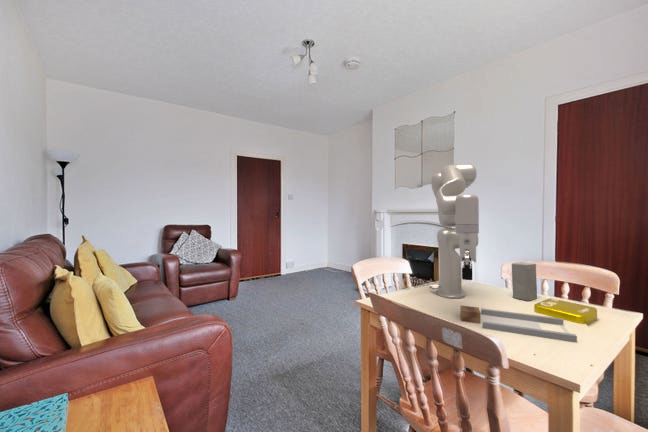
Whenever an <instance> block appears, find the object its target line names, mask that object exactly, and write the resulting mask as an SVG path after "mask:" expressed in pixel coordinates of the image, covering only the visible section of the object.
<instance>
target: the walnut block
mask: <svg viewBox="0 0 648 432" xmlns="http://www.w3.org/2000/svg"><path fill="white" fill-rule="evenodd" d="M459 307H460V309H459V311H460V312H459V314H460V320H461V322H465V323H466V322H467V323H474V324H480V325H481V324H482V317H481V309H480V308H479V306H469V305H460V306H459Z"/></svg>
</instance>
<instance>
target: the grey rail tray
mask: <svg viewBox="0 0 648 432" xmlns="http://www.w3.org/2000/svg"><path fill="white" fill-rule="evenodd" d="M480 314H481V324H482V329H484V330H485V329H486V330H491V331H499V332H504V333H512V334H519V335H525V336H532V337H538V338H545V339H550V340H557V341H563V342H570V343H571V342H572V343H578V336H577V335H576V333H575V334H574V333H570V332H569V331H568V330H567V329H568V328H566V327H565V325H564V320H563V319H562V318H555V317H551V316H547V315H537V314H531V313H530V314H528V313H523V312H522V313H521V312H512V311H505V310H504V311H503V310H497V309H496V310H495V309H489V308H488V309H487V308H482V307H481V309H480ZM539 323H541V324H550V325H556V326H560V328H561V329H562V330H563V331H564V332H561V331H556V330H547V329H542V327H541V326H540V324H539Z"/></svg>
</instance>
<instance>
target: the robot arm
mask: <svg viewBox="0 0 648 432" xmlns="http://www.w3.org/2000/svg"><path fill="white" fill-rule="evenodd" d="M477 175H478V174H477V169H476V167H475V166H474V165H473V164H471V163H459V164H458V163H457V164H447V165H446V166H444V167H443V168H442V169H441V172H437V173H434V174H433V175H432V177H431V180H430V181H431V182H430V183H431V189H432V193H433V195H434V197H435V200H436V206H437V215H438V222H439V224H440V226H441V227H445V228H441V229H439V230H438V231H437V234H436V238H437V239H436V240H437V244H438V245H437V246H438V255H439V256H438V257H439V258H438V259H439V261H438V262H439V263H438V264H439V271H438V272H439V283H437V284H433V283H430V284H429V289H432V290H436V291H435V293H436V295H437V296H439V297H442V298H445V299H463V298H466V292H464V291H463V290H462V287H463V286H462V285H463V283H462V280H464V281H473V263H472V262H474V263H476V262H477V247H478V246H479V234H480V233H479V232H480V225H479V224H480V223H479V222H480V219H479V217H480V216H479V215H480V212H479V211H480V210H479V203H480V202H479V197H478V195H476V194H463V193H464V191H466V189H468V188H469V187H471V186H472V184H473V183H475V181H476V179H477ZM456 249H457V250H458V249H459V252H457V250H456Z"/></svg>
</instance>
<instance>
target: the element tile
mask: <svg viewBox="0 0 648 432" xmlns="http://www.w3.org/2000/svg"><path fill="white" fill-rule="evenodd" d="M533 310H534V312H535V314H539V315H542V316H546V317H554V318H562V319H563V321H567V322H571V323H576V324H581V325H584V324H585V326H587V327H588V326H590V325H591V324H593V323H595V322H596V321H597V320H598V308H597V307H594V306H590V305H585V304H581V303H575V302H570V301H566V300H562V299H557V298H552V297H551V298H546V299H544V300H542V301H539V302H537V303H535V304H534V307H533Z"/></svg>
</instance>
